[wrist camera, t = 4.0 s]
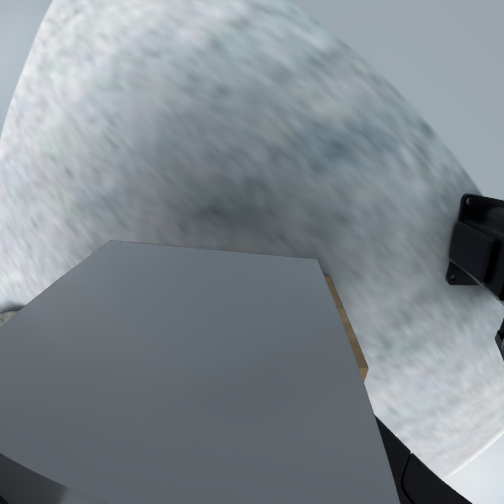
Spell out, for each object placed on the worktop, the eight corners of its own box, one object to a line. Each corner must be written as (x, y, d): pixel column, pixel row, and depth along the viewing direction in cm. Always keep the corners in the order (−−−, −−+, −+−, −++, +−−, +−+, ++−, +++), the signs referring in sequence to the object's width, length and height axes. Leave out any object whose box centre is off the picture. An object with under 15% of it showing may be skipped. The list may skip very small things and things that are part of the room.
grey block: (317, 258, 7) (402, 517, 2) (288, 409, 9) (293, 593, 3) (111, 240, 7) (-74, 398, 2) (131, 389, 9) (60, 547, 3)
